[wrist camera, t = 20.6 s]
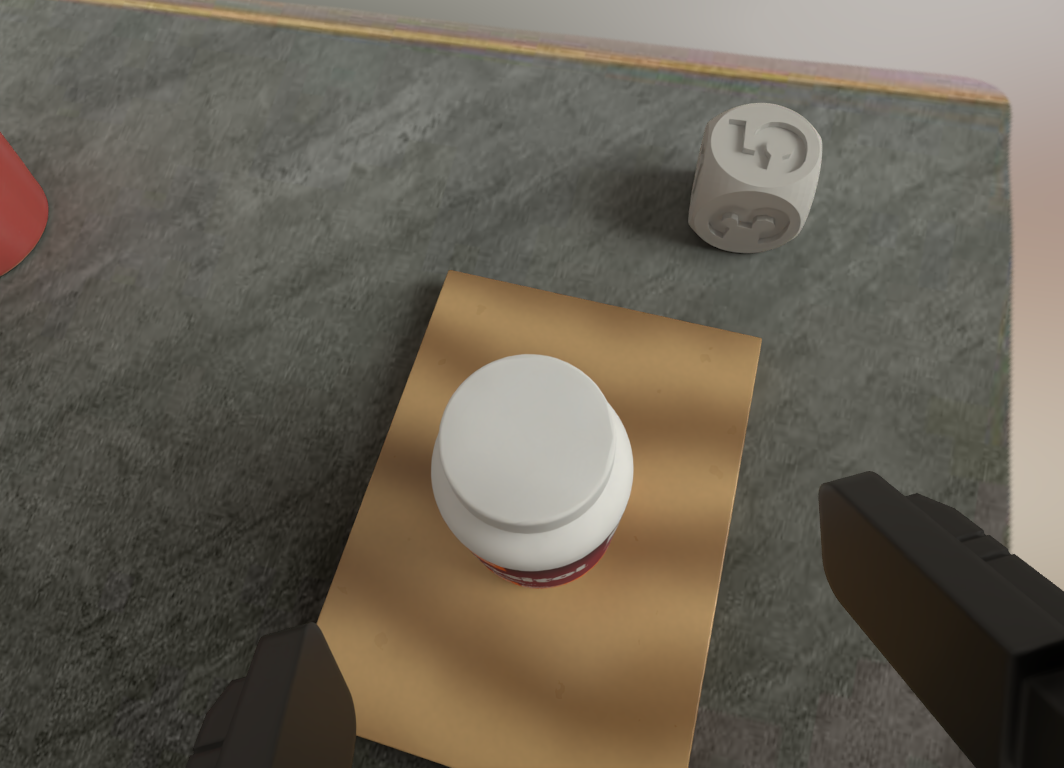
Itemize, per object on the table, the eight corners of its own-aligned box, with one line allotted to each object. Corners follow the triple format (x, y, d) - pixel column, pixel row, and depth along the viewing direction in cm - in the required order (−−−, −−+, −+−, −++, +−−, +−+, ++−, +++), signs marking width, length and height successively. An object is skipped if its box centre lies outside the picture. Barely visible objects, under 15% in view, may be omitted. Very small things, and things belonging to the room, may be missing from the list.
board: (453, 284, 33) (448, 269, 32) (754, 351, 31) (762, 337, 30) (298, 707, 26) (283, 710, 25) (669, 832, 24) (675, 843, 23)
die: (694, 168, 35) (713, 94, 30) (791, 179, 34) (825, 107, 30) (683, 246, 33) (702, 181, 29) (785, 260, 33) (820, 197, 28)
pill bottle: (448, 570, 27) (371, 522, 16) (489, 427, 29) (443, 307, 19) (599, 609, 26) (618, 584, 16) (629, 459, 28) (664, 351, 18)
